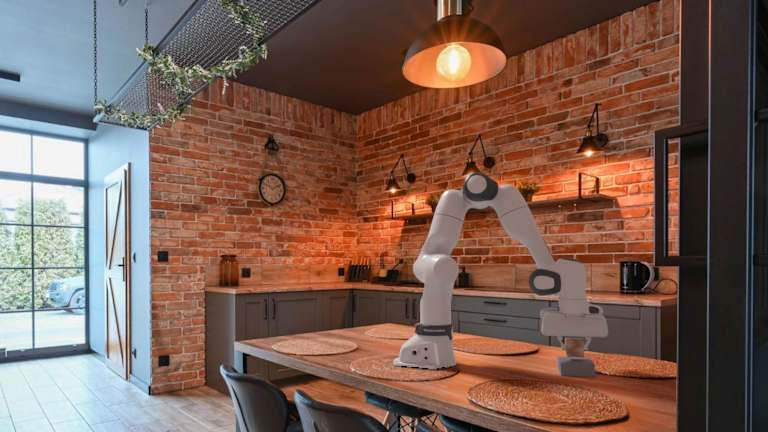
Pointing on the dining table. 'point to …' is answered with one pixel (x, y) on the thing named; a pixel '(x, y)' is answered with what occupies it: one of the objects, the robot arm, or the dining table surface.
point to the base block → (576, 366)
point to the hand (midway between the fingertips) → (574, 350)
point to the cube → (574, 347)
